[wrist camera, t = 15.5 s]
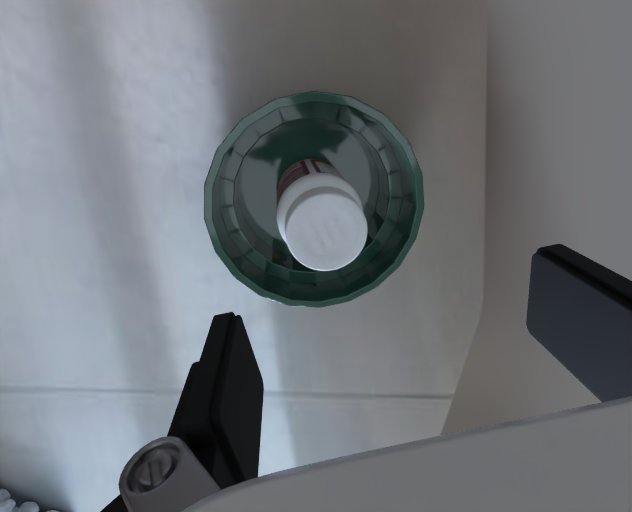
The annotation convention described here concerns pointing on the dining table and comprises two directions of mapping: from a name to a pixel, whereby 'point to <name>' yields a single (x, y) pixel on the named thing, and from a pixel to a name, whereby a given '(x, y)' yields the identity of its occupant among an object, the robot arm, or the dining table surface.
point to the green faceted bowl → (348, 159)
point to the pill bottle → (320, 215)
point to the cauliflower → (3, 509)
